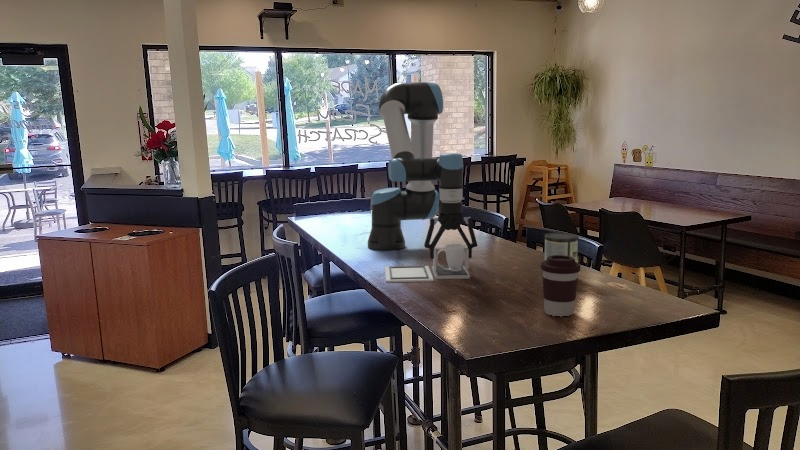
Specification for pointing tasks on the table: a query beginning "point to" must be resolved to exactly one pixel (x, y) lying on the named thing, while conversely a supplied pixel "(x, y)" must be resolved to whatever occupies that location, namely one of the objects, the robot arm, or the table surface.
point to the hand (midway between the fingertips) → (450, 268)
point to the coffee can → (561, 245)
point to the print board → (408, 274)
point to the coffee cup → (559, 284)
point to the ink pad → (450, 273)
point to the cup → (453, 256)
